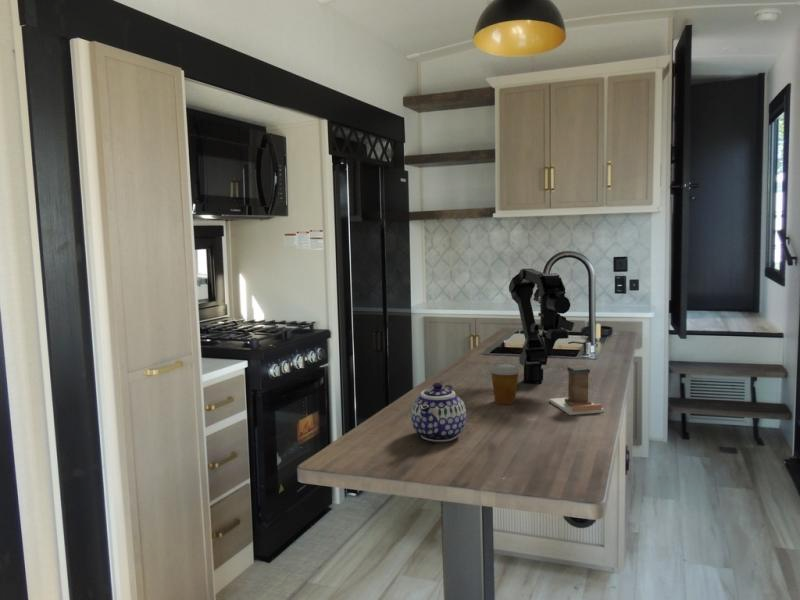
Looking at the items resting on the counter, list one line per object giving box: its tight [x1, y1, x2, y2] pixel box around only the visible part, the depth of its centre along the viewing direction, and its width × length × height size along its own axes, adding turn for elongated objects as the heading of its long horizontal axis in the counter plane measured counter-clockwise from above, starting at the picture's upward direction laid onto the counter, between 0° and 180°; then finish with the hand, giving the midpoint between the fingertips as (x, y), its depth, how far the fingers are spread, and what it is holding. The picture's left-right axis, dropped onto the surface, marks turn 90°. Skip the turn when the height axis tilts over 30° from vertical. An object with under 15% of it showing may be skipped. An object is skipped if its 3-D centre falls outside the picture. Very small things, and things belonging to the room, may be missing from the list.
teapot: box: [410, 382, 467, 442], centre depth 181 cm, size 25×15×15 cm, turn 155°
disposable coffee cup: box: [489, 362, 521, 405], centre depth 215 cm, size 10×10×12 cm
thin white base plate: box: [549, 397, 605, 416], centre depth 208 cm, size 15×11×2 cm
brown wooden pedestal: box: [564, 365, 593, 406], centre depth 206 cm, size 6×6×11 cm
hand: (548, 355), depth 228 cm, fingers closed
